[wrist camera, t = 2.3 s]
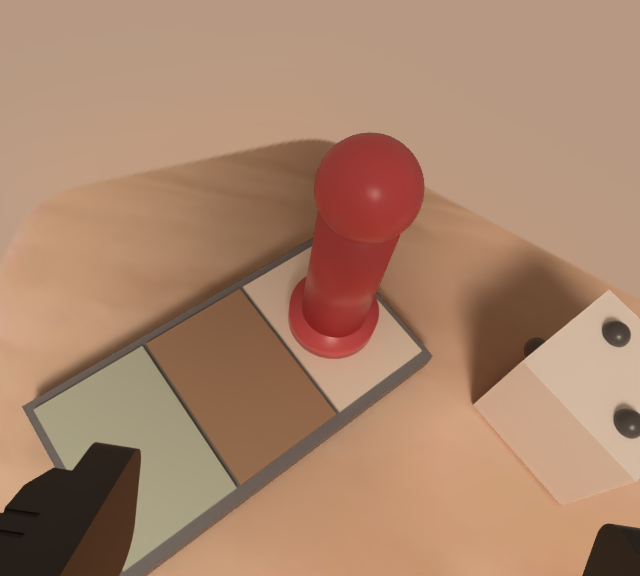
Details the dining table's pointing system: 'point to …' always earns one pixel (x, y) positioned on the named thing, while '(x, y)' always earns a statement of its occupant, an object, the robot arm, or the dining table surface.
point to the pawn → (353, 241)
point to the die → (575, 403)
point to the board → (219, 404)
